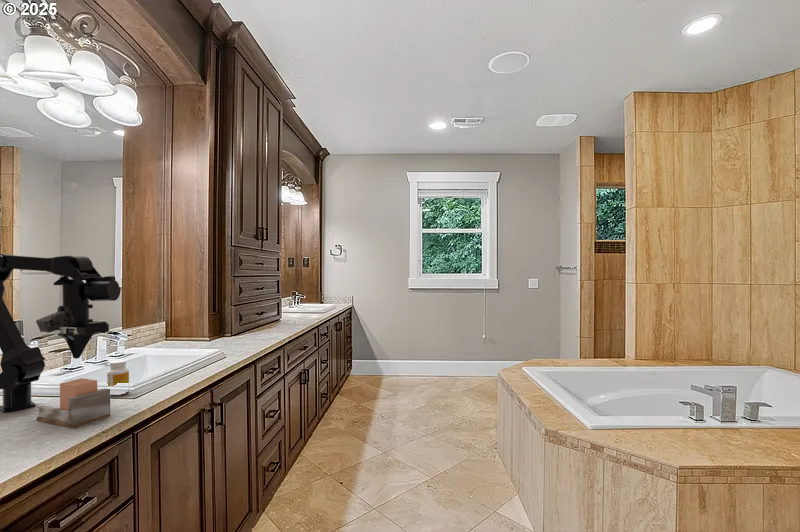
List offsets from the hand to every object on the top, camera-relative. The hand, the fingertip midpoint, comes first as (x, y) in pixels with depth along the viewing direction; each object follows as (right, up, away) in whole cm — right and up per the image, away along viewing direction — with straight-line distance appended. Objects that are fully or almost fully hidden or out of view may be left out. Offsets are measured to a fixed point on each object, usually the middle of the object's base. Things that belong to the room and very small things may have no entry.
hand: (76, 358), depth 114 cm
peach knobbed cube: (+9, -11, -10) cm, 17 cm away
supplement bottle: (+4, -13, +11) cm, 17 cm away
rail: (+8, -13, -10) cm, 18 cm away
